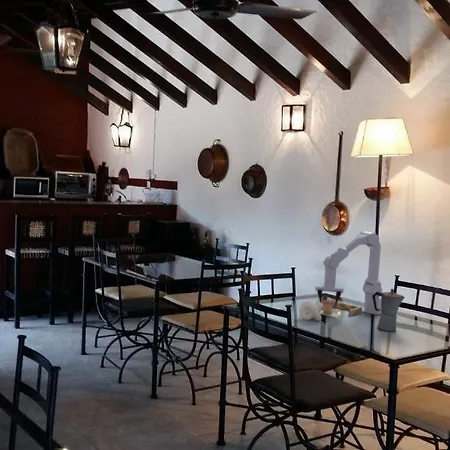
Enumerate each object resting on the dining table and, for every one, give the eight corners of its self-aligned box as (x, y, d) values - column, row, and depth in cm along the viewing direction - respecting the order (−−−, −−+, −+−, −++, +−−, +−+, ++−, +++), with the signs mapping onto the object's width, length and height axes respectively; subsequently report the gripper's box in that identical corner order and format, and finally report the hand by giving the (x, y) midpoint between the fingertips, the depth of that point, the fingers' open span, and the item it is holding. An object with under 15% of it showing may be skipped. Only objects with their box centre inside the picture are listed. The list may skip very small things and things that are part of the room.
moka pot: (404, 333, 295) (408, 291, 293) (372, 331, 295) (375, 289, 293) (399, 327, 304) (402, 287, 302) (367, 325, 305) (371, 285, 303)
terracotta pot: (334, 313, 327) (334, 300, 326) (331, 315, 322) (332, 302, 321) (323, 311, 329) (324, 299, 329) (320, 313, 324) (321, 301, 323)
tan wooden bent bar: (361, 312, 332) (362, 307, 332) (350, 316, 323) (351, 310, 322) (327, 305, 346) (327, 300, 345) (315, 308, 336) (315, 303, 336)
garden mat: (343, 315, 324) (343, 314, 324) (335, 317, 318) (335, 317, 318) (319, 310, 333) (319, 309, 333) (312, 312, 326) (312, 311, 326)
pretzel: (328, 323, 306) (329, 305, 305) (305, 323, 303) (307, 305, 302) (318, 317, 317) (319, 300, 316) (296, 317, 313) (297, 300, 312)
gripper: (343, 279, 326) (342, 304, 328) (316, 277, 328) (314, 302, 330) (344, 281, 319) (342, 307, 321) (316, 279, 321) (314, 305, 323)
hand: (328, 305), depth 325 cm, fingers open, 7 cm apart
